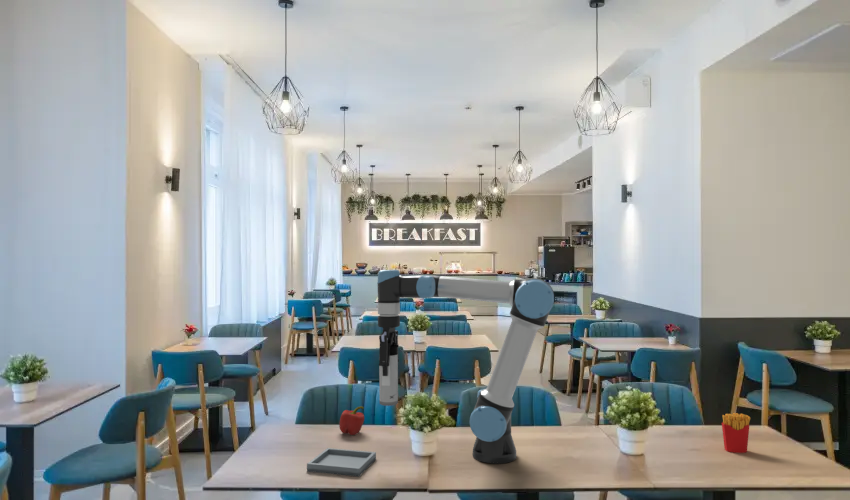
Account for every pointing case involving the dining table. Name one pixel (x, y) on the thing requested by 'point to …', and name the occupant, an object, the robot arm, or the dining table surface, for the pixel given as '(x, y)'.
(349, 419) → the vegetable
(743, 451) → the french fries
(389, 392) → the travel mug
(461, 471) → the dining table surface
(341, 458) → the tray
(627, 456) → the dining table surface
